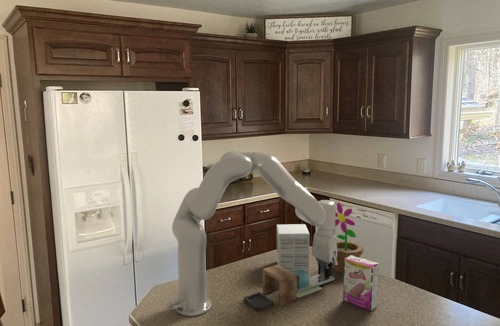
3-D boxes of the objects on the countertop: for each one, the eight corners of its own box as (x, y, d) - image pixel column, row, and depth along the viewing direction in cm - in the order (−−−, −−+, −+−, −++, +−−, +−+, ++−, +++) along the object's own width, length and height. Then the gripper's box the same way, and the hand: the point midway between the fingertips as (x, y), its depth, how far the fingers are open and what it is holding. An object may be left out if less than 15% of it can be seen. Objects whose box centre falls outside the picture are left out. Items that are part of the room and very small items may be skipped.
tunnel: (281, 305, 143) (281, 279, 141) (263, 292, 152) (262, 268, 151) (296, 299, 147) (296, 274, 145) (277, 287, 156) (277, 264, 154)
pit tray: (257, 311, 139) (257, 307, 138) (243, 301, 146) (243, 297, 146) (273, 305, 142) (273, 301, 142) (259, 295, 150) (259, 292, 150)
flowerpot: (321, 269, 172) (323, 201, 168) (339, 259, 182) (340, 195, 178) (351, 279, 162) (353, 207, 158) (368, 268, 173) (370, 201, 168)
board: (298, 297, 148) (298, 296, 148) (281, 287, 156) (281, 286, 156) (322, 289, 154) (322, 288, 154) (305, 279, 163) (305, 278, 163)
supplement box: (276, 261, 182) (276, 224, 180) (305, 260, 182) (305, 223, 179) (278, 273, 169) (278, 233, 166) (309, 273, 169) (309, 233, 166)
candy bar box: (342, 301, 145) (343, 258, 142) (349, 296, 148) (350, 254, 146) (371, 312, 137) (372, 266, 135) (377, 306, 141) (379, 262, 138)
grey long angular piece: (298, 292, 150) (298, 272, 149) (287, 286, 155) (287, 267, 154) (334, 279, 161) (334, 260, 159) (323, 274, 165) (324, 256, 164)
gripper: (304, 228, 163) (304, 270, 166) (333, 239, 150) (332, 285, 153) (318, 224, 167) (317, 266, 170) (347, 235, 154) (346, 280, 157)
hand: (324, 274), depth 161 cm, fingers closed
